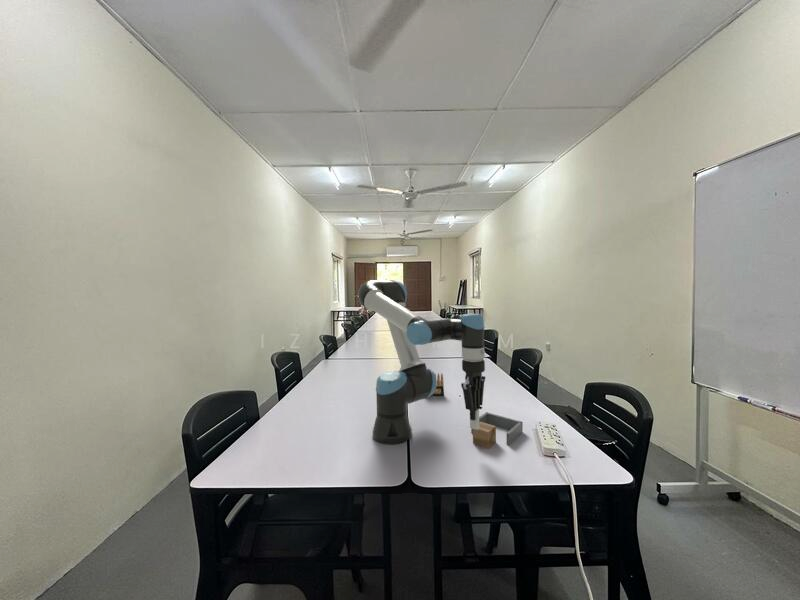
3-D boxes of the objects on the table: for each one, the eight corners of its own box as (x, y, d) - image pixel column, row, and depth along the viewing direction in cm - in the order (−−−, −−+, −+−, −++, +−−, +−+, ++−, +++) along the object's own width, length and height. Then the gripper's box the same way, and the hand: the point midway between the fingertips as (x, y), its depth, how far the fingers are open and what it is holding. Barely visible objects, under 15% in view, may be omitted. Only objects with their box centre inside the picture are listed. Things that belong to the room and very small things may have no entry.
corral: (509, 445, 108) (509, 434, 108) (471, 432, 118) (471, 422, 118) (522, 432, 118) (522, 421, 118) (486, 421, 128) (486, 412, 128)
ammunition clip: (423, 396, 160) (423, 373, 159) (423, 395, 161) (423, 372, 161) (444, 396, 160) (443, 373, 159) (443, 394, 161) (443, 372, 161)
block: (488, 449, 106) (488, 432, 106) (473, 443, 110) (472, 427, 110) (496, 442, 111) (495, 426, 110) (480, 437, 115) (480, 421, 114)
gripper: (474, 364, 96) (475, 438, 96) (492, 357, 106) (493, 424, 106) (453, 361, 101) (455, 431, 101) (472, 354, 111) (474, 419, 111)
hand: (474, 428), depth 104 cm, fingers closed
